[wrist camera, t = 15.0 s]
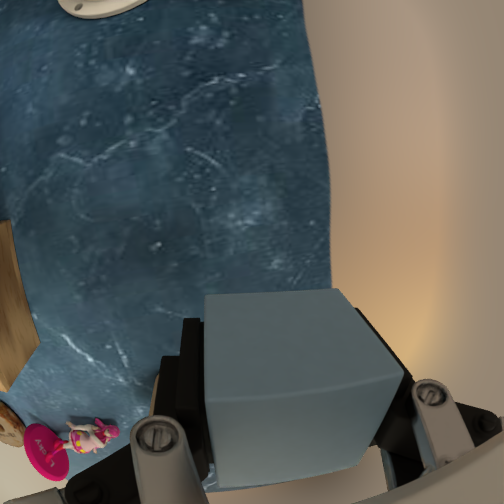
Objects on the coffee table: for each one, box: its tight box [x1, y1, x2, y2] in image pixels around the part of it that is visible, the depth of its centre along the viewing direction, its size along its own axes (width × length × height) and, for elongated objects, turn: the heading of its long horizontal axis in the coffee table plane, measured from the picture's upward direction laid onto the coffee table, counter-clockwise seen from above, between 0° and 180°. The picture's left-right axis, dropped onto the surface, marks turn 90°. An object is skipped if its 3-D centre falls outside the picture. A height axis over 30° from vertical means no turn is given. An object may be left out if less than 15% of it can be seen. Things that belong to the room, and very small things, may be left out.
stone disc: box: [0, 402, 26, 447], centre depth 29 cm, size 10×4×10 cm
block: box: [204, 288, 404, 488], centre depth 8 cm, size 4×4×4 cm
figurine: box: [24, 418, 120, 481], centre depth 29 cm, size 10×10×15 cm
